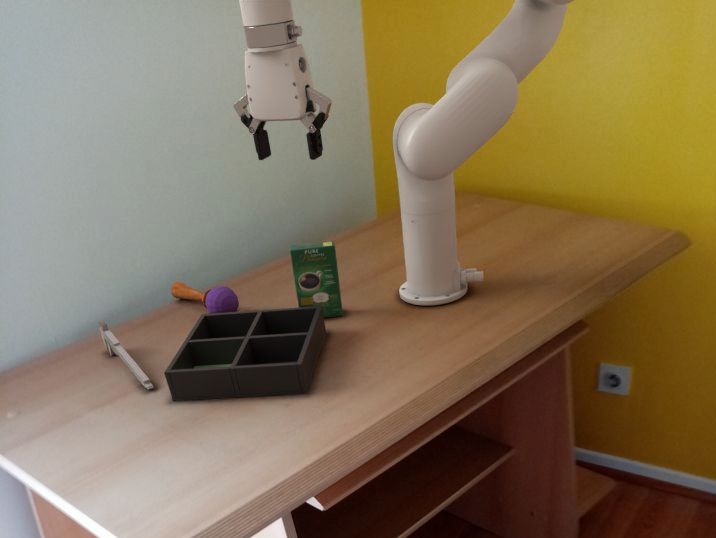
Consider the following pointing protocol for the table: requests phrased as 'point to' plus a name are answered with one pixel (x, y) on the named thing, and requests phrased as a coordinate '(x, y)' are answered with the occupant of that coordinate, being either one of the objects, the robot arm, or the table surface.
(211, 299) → the kendama
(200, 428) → the table surface
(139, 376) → the caliper
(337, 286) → the coffee box
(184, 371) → the organizer
